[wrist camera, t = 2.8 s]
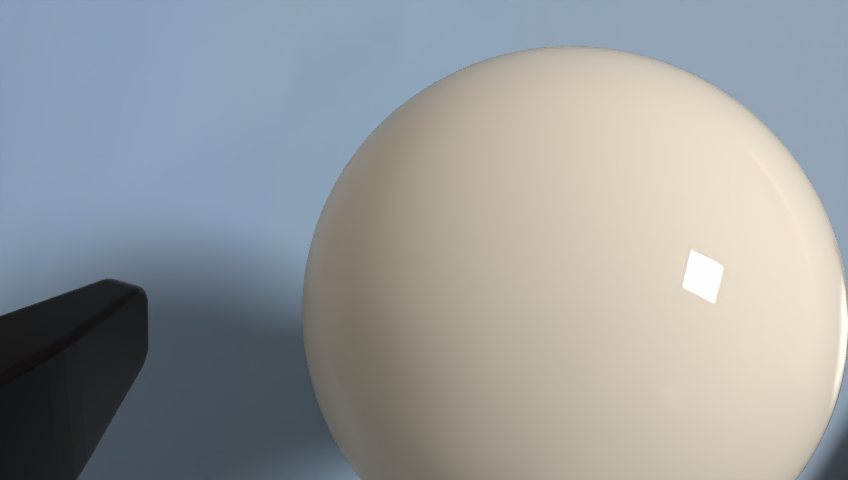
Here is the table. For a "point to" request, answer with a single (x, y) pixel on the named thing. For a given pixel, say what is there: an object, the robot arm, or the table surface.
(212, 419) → the table surface
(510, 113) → the lightbulb
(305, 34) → the table surface
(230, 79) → the table surface
